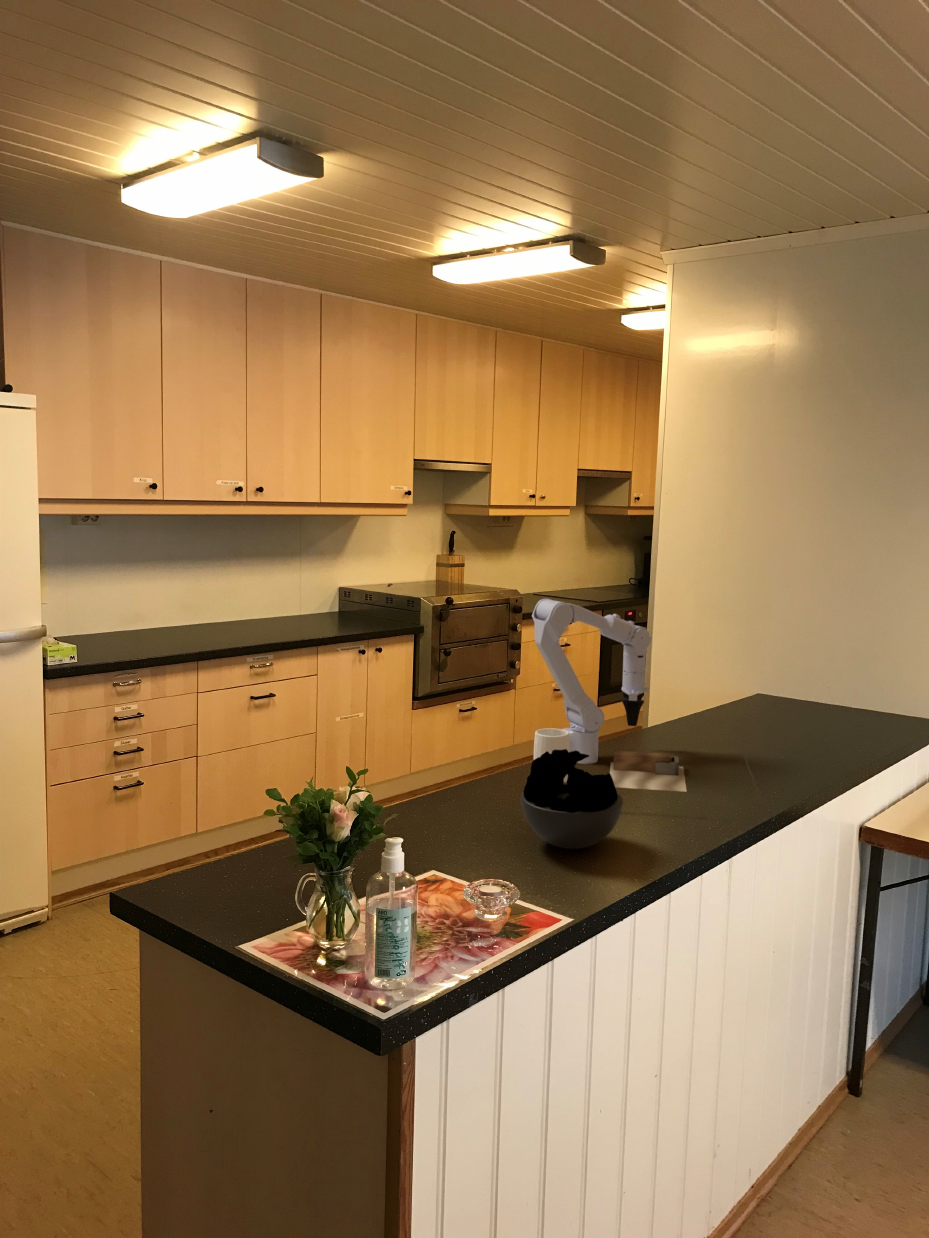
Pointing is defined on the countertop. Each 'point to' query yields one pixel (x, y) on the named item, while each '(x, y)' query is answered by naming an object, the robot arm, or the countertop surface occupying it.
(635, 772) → the mounting board
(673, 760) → the bracket
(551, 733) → the cup
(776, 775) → the countertop surface
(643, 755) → the rail
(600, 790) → the bowl of black rocks
